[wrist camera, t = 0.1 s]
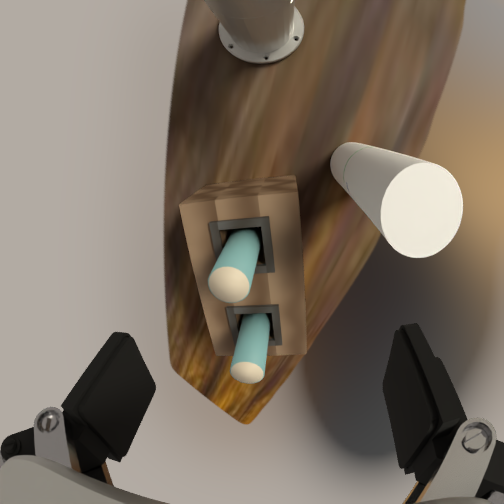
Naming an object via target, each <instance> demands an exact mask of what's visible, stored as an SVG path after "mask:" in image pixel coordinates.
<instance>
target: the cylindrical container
mask: <svg viewBox="0 0 504 504" xmlns="http://www.w3.org/2000/svg"><path fill="white" fill-rule="evenodd" d="M330 168H331V172H332V174H333V177H334V178H335V179H336V181H337V182H338V183H339V184H340V185H341V186H342V187H343V188H344V189H345V191H346V192H347V193H348V194H349V195H350V196H351V197H352V199H353V200H354V201H355V202H356V203H357V204H358V205H359V207H360V208H361V209H362V210H363V211H364V212H365V214H366V215H367V216H368V217H369V218H370V220H371V221H372V222H373V223H374V225H375V226H376V227H377V228H378V230H379V231H380V232H381V233H382V234H383V236H384V237H385V238H386V240H387V241H388V242H389V244H390V245H391V246H392V247H393V248H394V249H395V250H397V251H398V252H400V253H401V254H403V255H406V256H408V257H414V258H422V257H427V256H430V255H433V254H435V253H437V252H439V251H440V250H442V249H443V248H444V247H445V246H446V245H447V244H448V243H449V242H450V241H451V240H452V238H453V237H454V235H455V234H456V232H457V230H458V228H459V225H460V222H461V218H462V213H463V200H462V194H461V190H460V188H459V186H458V183H457V181H456V180H455V179H454V177H453V176H452V174H450V173H449V172H448V171H447V170H446V169H444V168H443V167H441V166H439V165H437V164H433V163H431V162H428V161H424V160H421V159H418V158H414V157H411V156H408V155H404V154H400V153H397V152H393V151H389V150H385V149H381V148H377V147H373V146H369V145H365V144H360V143H355V142H348V143H345V144H342V145H341V146H339V147H338V148H337V149H336V150H335V151H334V153H333V155H332V157H331V162H330Z"/></svg>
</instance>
